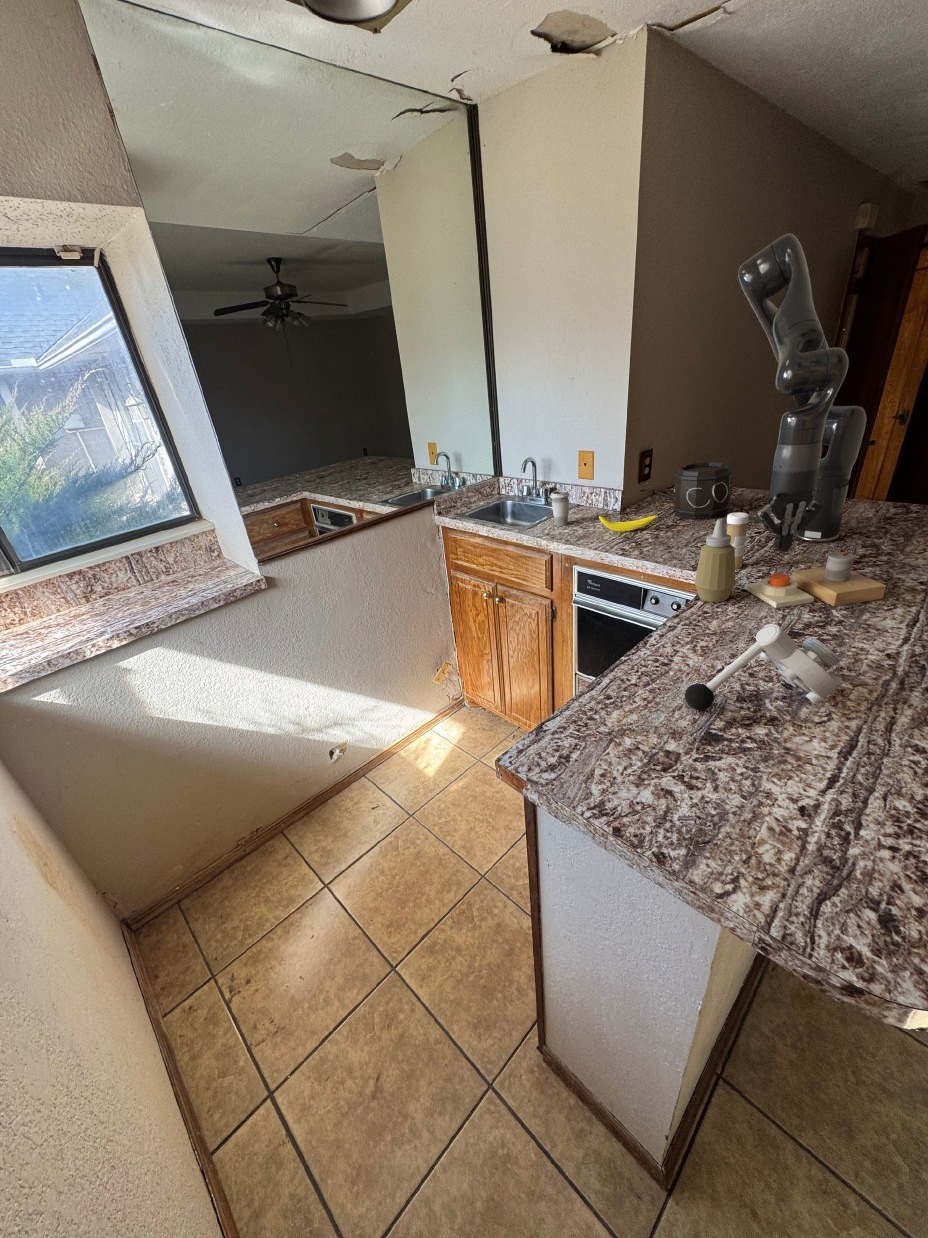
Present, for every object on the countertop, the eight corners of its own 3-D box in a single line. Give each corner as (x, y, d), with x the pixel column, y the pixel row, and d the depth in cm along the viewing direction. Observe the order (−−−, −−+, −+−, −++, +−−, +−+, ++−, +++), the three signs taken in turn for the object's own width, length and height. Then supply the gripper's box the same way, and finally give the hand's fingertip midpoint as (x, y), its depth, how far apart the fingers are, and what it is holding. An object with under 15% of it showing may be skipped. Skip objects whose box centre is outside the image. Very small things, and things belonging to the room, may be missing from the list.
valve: (722, 731, 83) (667, 682, 80) (820, 653, 78) (765, 596, 74) (757, 770, 74) (695, 716, 70) (870, 684, 68) (810, 621, 65)
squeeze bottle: (731, 590, 110) (739, 513, 102) (736, 605, 103) (745, 524, 95) (692, 590, 113) (697, 515, 105) (695, 605, 106) (700, 526, 98)
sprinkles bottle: (719, 564, 124) (723, 513, 118) (737, 562, 124) (742, 510, 118) (727, 570, 120) (733, 517, 114) (746, 568, 119) (752, 515, 114)
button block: (744, 588, 110) (745, 576, 108) (778, 583, 110) (780, 571, 108) (775, 608, 100) (777, 595, 98) (813, 602, 100) (815, 589, 98)
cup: (573, 522, 177) (572, 489, 172) (567, 527, 173) (565, 494, 167) (555, 521, 181) (554, 489, 176) (548, 526, 176) (546, 494, 171)
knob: (840, 583, 99) (846, 559, 97) (819, 577, 103) (823, 554, 100) (854, 577, 100) (860, 553, 98) (832, 572, 104) (837, 549, 102)
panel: (790, 583, 109) (792, 570, 107) (833, 576, 109) (836, 563, 107) (833, 606, 97) (836, 592, 96) (882, 599, 97) (886, 584, 95)
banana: (657, 531, 154) (658, 512, 151) (596, 534, 161) (596, 515, 158) (657, 528, 157) (657, 509, 154) (597, 531, 163) (597, 513, 160)
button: (765, 582, 105) (766, 575, 104) (781, 579, 105) (782, 572, 104) (776, 588, 102) (777, 581, 101) (792, 585, 102) (794, 578, 101)
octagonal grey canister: (742, 515, 156) (747, 466, 149) (686, 523, 157) (688, 474, 151) (716, 503, 172) (720, 458, 165) (666, 510, 174) (667, 466, 167)
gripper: (774, 474, 90) (761, 561, 97) (844, 463, 89) (826, 551, 97) (750, 468, 96) (740, 550, 104) (815, 458, 96) (800, 541, 104)
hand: (782, 550), depth 100 cm, fingers closed
